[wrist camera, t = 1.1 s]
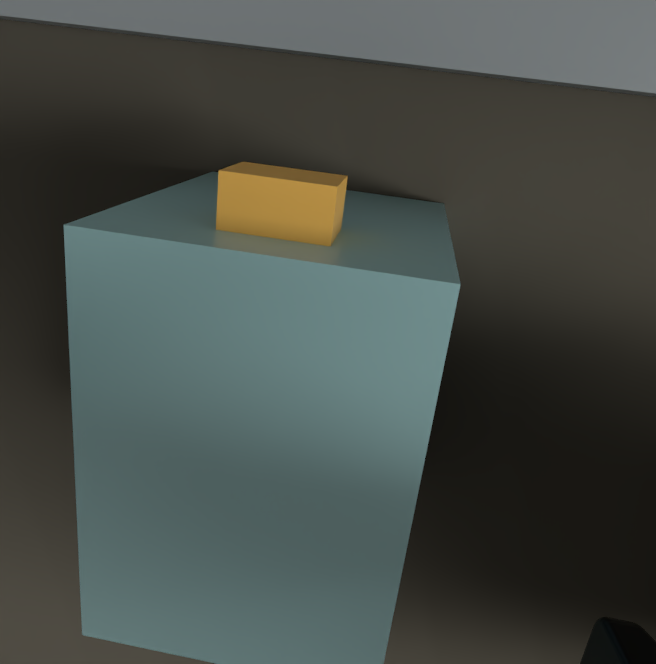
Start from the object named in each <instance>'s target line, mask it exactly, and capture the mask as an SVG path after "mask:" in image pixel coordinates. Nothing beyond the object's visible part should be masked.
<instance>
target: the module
mask: <svg viewBox="0 0 656 664" xmlns="http://www.w3.org/2000/svg"><path fill="white" fill-rule="evenodd" d="M347 178H348V176H345V175H338V174H331V173H323V172H316V171H309V170H301V169H294V168H287V167H279V166H272V165H265V164H257V163H250V162H240V163H237V164H235V165H232V166H229V167H226V168H224V169H221V170H219V172H210V173H207V174H204V175H201V176H199V177H196V178H193V179H190V180H187V181H185V182H182V183H179V184H176V185H173V186H171V187H168V188H165V189H162V190H159V191H157V192H154V193H151V194H148V195H145V196H143V197H140V198H137V199H134V200H131V201H129V202H126V203H123V204H120V205H117V206H115V207H112V208H109V209H106V210H103V211H101V212H98V213H95V214H92V215H89V216H87V217H84V218H81V219H78V220H75V221H73V222H70V223H67V224H64V247H65V268H66V290H67V312H68V334H69V356H70V378H71V400H72V421H73V443H74V465H75V487H76V509H77V531H78V553H79V574H80V596H81V618H82V635H85V636H89V637H94V638H99V639H103V640H108V641H113V642H117V643H122V644H127V645H132V646H136V647H141V648H146V649H150V650H155V651H160V652H164V653H169V654H174V655H178V656H183V657H188V658H193V659H197V660H202V661H207V662H211V663H216V664H383V663H384V658H385V653H386V648H387V644H388V639H389V634H390V629H391V624H392V619H393V614H394V609H395V604H396V599H397V594H398V590H399V585H400V580H401V575H402V570H403V565H404V560H405V555H406V550H407V545H408V540H409V535H410V531H411V526H412V521H413V516H414V511H415V506H416V501H417V496H418V491H419V486H420V481H421V477H422V472H423V467H424V462H425V457H426V452H427V447H428V442H429V437H430V432H431V427H432V423H433V418H434V413H435V408H436V403H437V398H438V393H439V388H440V383H441V378H442V373H443V368H444V364H445V359H446V354H447V349H448V344H449V339H450V334H451V329H452V324H453V319H454V314H455V310H456V305H457V300H458V295H459V290H460V285H461V284H460V279H459V274H458V269H457V264H456V260H455V255H454V250H453V245H452V240H451V235H450V230H449V226H448V221H447V216H446V211H445V206H444V203H437V202H430V201H422V200H415V199H408V198H401V197H394V196H386V195H379V194H372V193H365V192H357V191H350V190H346V186H347Z"/></svg>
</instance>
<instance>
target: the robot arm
mask: <svg viewBox="0 0 656 664" xmlns="http://www.w3.org/2000/svg"><path fill="white" fill-rule="evenodd" d="M580 664H656V642H655V640H654V639H653V638H652V637H651V636H650V635H649V634H648V633H647V632H646V631H645V630H644V629H643V628H642V627H640V626H639V625H638V624H635V623H633V622H629V621H623V620H618V619H613V618H608V617H602V618H600V619H598V620H597V621H596V623H595V625H594V627H593V629H592V632H591V635H590V638H589V640H588V643H587V646H586V649H585V651H584V654H583V657H582V660H581V662H580Z"/></svg>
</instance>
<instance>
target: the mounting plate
mask: <svg viewBox="0 0 656 664" xmlns="http://www.w3.org/2000/svg"><path fill="white" fill-rule="evenodd" d="M0 19H6V20H14V21H22V22H31V23H39V24H47V25H56V26H64V27H73V28H81V29H89V30H98V31H106V32H114V33H123V34H131V35H140V36H148V37H156V38H165V39H173V40H181V41H190V42H198V43H207V44H215V45H223V46H232V47H240V48H248V49H257V50H265V51H273V52H282V53H290V54H299V55H307V56H315V57H324V58H332V59H340V60H349V61H357V62H366V63H374V64H382V65H391V66H399V67H407V68H416V69H424V70H433V71H441V72H449V73H458V74H466V75H474V76H483V77H491V78H500V79H508V80H516V81H525V82H533V83H541V84H550V85H558V86H567V87H575V88H583V89H592V90H600V91H608V92H617V93H625V94H634V95H642V96H650V97H656V0H0Z"/></svg>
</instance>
